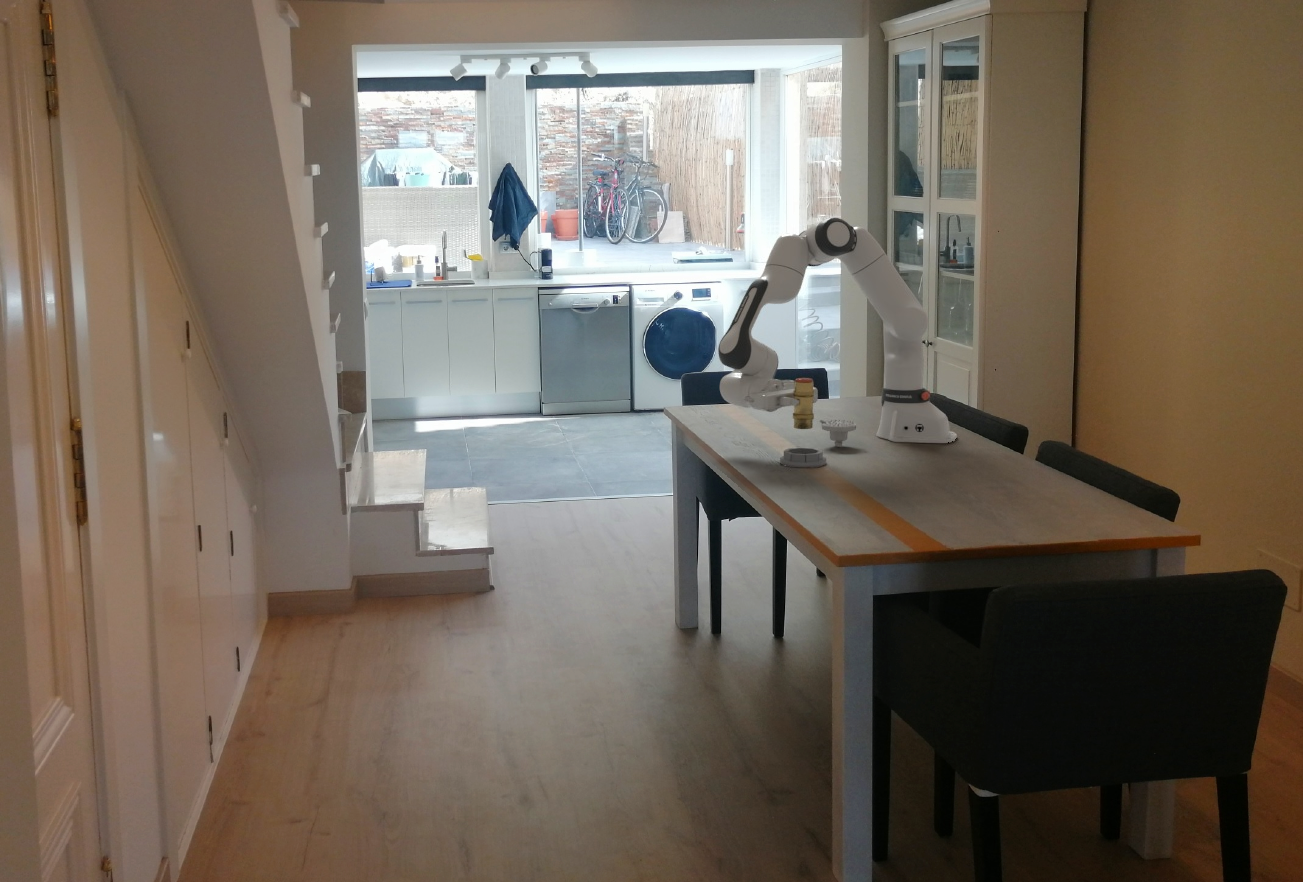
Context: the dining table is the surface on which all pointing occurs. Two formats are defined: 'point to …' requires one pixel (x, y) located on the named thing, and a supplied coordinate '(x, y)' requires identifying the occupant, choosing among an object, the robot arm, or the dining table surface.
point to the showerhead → (838, 430)
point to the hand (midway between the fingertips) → (806, 401)
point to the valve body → (803, 403)
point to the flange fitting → (803, 457)
